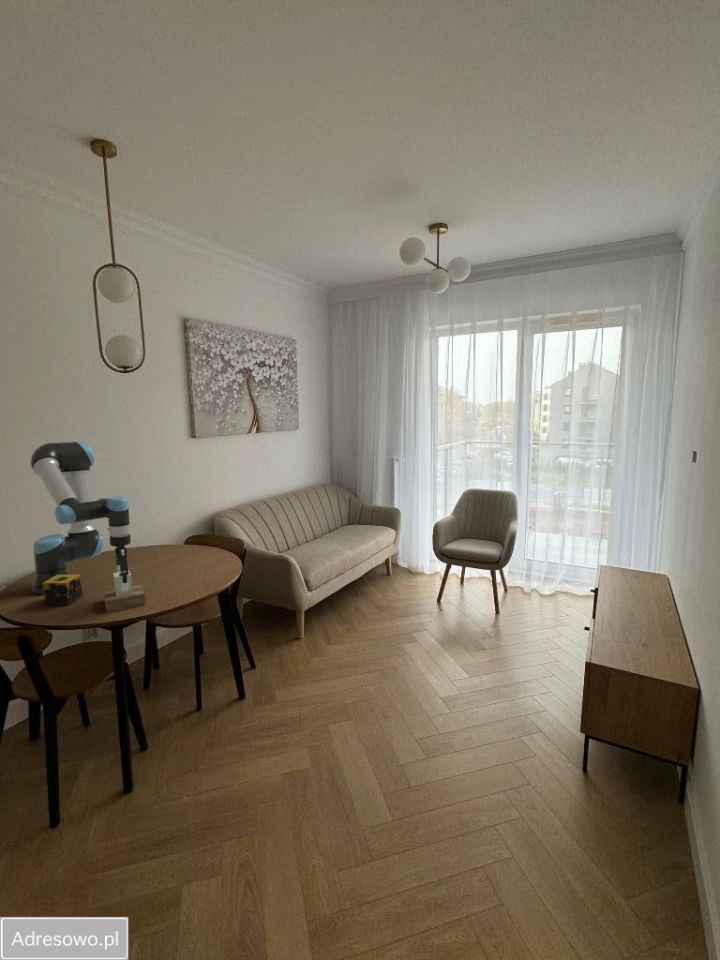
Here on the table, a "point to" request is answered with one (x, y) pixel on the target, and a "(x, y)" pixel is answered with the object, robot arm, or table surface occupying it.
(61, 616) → the table surface
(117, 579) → the sage block
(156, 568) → the table surface
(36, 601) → the table surface
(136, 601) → the walnut block
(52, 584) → the candle
